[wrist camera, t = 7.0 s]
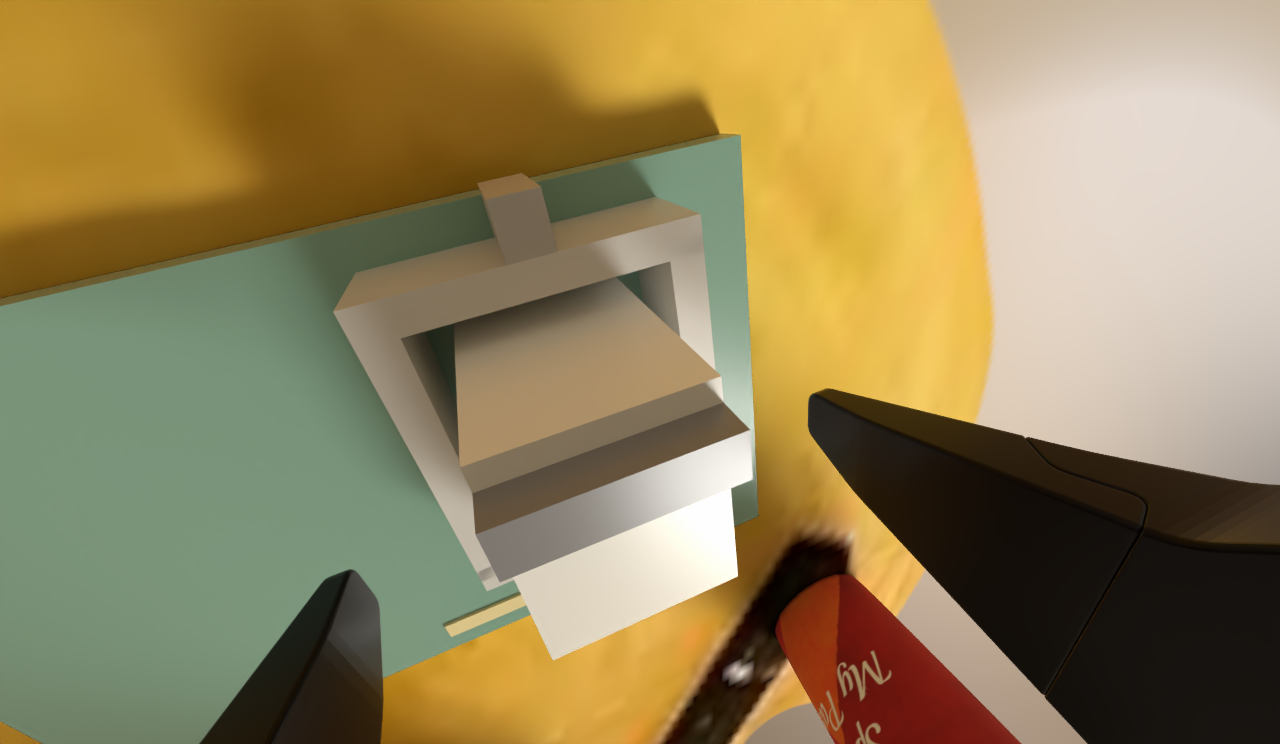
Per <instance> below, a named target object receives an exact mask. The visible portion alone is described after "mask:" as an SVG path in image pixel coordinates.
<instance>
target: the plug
mask: <svg viewBox="0 0 1280 744" xmlns="http://www.w3.org/2000/svg"><path fill="white" fill-rule="evenodd" d="M454 343H455V367H456V391H457V414H458V438H459V462H460V469H461V471H462V473H463V475H464V477H465V479H466V481H467V483H468V485H469V488H470V490H471V492H472V496H473V510H474V524H475V535H476V537H477V539H478V541H479V543H480V545H481V547H482V549H483V551H484V553H485V555H486V557H487V559H488V560H489V562H490V564H491V566H492V568H493V570H494V572H495V574H496V576H497V578H498V580H499V582H502V581H505V580H507V579H510V578H512V577H513V579H514V581H515V583H516V585H517V587H518V589H519V591H520V593H521V595H522V597H523V599H524V601H525V603H526V606H527V608H528V610H529V612H530V614H531V616H532V618H533V620H534V622H535V624H536V626H537V628H538V630H539V632H540V634H541V637H542V639H543V641H544V643H545V645H546V647H547V649H548V651H549V653H550V655H551V657H552V659H553V660H555V659H557V658H559V657H562V656H564V655H566V654H568V653H570V652H573V651H575V650H577V649H579V648H581V647H584V646H586V645H588V644H590V643H592V642H595V641H597V640H599V639H601V638H603V637H606V636H608V635H610V634H612V633H614V632H617V631H619V630H621V629H623V628H625V627H628V626H630V625H632V624H634V623H636V622H639V621H641V620H643V619H645V618H647V617H650V616H652V615H654V614H656V613H658V612H661V611H663V610H665V609H667V608H669V607H672V606H674V605H676V604H678V603H680V602H683V601H685V600H687V599H689V598H691V597H694V596H696V595H698V594H700V593H702V592H705V591H707V590H709V589H711V588H713V587H716V586H718V585H720V584H722V583H724V582H727V581H729V580H731V579H733V578H735V577H738V569H737V557H736V545H735V533H734V521H733V509H732V497H731V488H733V487H736V486H738V485H740V484H743V483H745V482H748V481H750V480H753V473H752V452H751V432H750V429H749V428H748V427H747V426H746V425H745V424H744V423H743V422H742V421H741V420H740V419H739V418H738V417H737V416H736V415H735V414H734V412H733V411H732V410H731V409H730V408H729V407H728V406H727V405H726V404H725V403H724V401H723V388H722V376H721V375H720V374H719V373H718V372H716V371H715V370H714V369H713V368H712V367H711V366H710V365H709V364H708V363H707V362H706V361H705V360H704V359H703V358H702V357H700V356H699V355H698V354H697V353H696V352H695V351H694V350H693V349H692V348H691V347H690V346H689V345H688V344H687V343H686V342H684V341H683V340H682V339H681V338H680V337H679V336H678V335H677V334H676V333H675V332H674V331H673V330H672V329H671V328H670V327H668V326H667V325H666V324H665V323H664V322H663V321H662V320H661V319H660V318H659V317H658V316H657V315H656V314H655V313H654V312H652V311H651V310H650V309H649V308H648V307H647V306H646V305H645V304H644V303H643V302H642V301H641V300H640V299H639V298H638V297H637V296H635V295H634V294H633V293H632V292H631V291H630V290H629V289H628V288H627V287H626V286H625V285H624V284H623V283H622V282H621V281H619V280H618V279H617V278H616V277H613V278H610V279H606V280H603V281H600V282H596V283H593V284H589V285H586V286H582V287H579V288H575V289H572V290H568V291H565V292H561V293H558V294H554V295H551V296H547V297H544V298H540V299H537V300H533V301H530V302H526V303H523V304H519V305H516V306H512V307H509V308H505V309H502V310H498V311H495V312H491V313H488V314H484V315H481V316H477V317H474V318H470V319H467V320H463V321H460V322H456V323H454Z"/></svg>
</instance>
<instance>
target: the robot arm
mask: <svg viewBox="0 0 1280 744" xmlns="http://www.w3.org/2000/svg"><path fill="white" fill-rule="evenodd" d="M808 428H809V432H810V434H811V436H812V437H813V438H814V440H815V441H816V442H817V444H818V445H819V446H820V448H821V449H822V450H823V452H824V453H825V454H826V456H827V457H828V458H829V460H830V461H831V462H832V464H833V465H834V466H835V468H836V469H837V470H838V472H839V473H840V474H841V476H842V477H843V478H844V480H845V481H846V482H847V483H848V485H849V486H850V487H851V488H852V490H853V491H854V492H855V493H856V494H857V495H858V497H859V498H860V499H861V500H862V501H863V502H864V503H865V504H866V505H867V507H868V508H869V509H870V510H871V511H872V512H873V513H874V514H875V515H876V516H877V517H878V518H879V519H880V520H881V522H882V523H883V524H884V525H885V526H886V527H887V528H888V529H889V530H890V531H891V532H892V533H893V534H894V536H895V537H896V538H897V539H898V540H899V541H900V542H901V543H902V544H903V545H904V546H905V547H906V548H907V550H908V551H909V552H910V553H911V554H912V555H913V556H914V557H915V558H916V559H917V560H918V561H919V562H920V564H921V565H922V566H923V567H924V568H925V569H926V570H927V571H928V572H929V573H930V574H931V575H932V576H933V577H934V579H935V580H936V581H937V582H938V583H939V584H940V585H941V586H942V587H943V588H944V589H945V590H946V591H947V592H948V594H949V595H950V596H951V597H952V598H953V599H954V600H955V601H956V602H957V603H958V604H959V605H960V606H961V608H962V609H963V610H964V611H965V612H966V613H967V614H968V615H969V616H970V617H971V618H972V619H973V620H974V622H976V624H977V625H978V626H979V627H980V628H981V629H982V630H983V631H984V632H985V633H986V635H987V636H988V637H989V638H990V639H991V640H992V641H993V642H994V643H995V644H996V645H997V646H998V647H999V649H1000V650H1001V651H1002V652H1003V653H1004V654H1005V655H1006V656H1007V657H1008V658H1009V659H1010V660H1011V661H1012V662H1013V663H1014V665H1015V666H1016V667H1017V668H1018V669H1019V670H1020V671H1021V672H1022V673H1023V674H1024V675H1025V676H1026V677H1027V679H1028V680H1029V681H1030V682H1031V683H1032V684H1033V685H1034V686H1035V687H1036V688H1037V689H1038V690H1039V691H1040V693H1041V694H1043V695H1045V698H1046V700H1047V701H1048V702H1049V703H1050V704H1051V705H1052V706H1053V707H1054V708H1055V709H1056V710H1057V711H1058V712H1059V713H1060V715H1062V717H1063V718H1064V719H1065V720H1066V721H1067V722H1068V723H1069V724H1070V725H1071V726H1072V727H1073V729H1074V730H1075V731H1076V732H1077V733H1078V734H1079V735H1080V736H1081V737H1082V738H1083V739H1084V740H1085V741H1086V743H1087V744H1280V485H1268V484H1259V483H1249V482H1243V481H1237V480H1231V479H1226V478H1221V477H1216V476H1210V475H1205V474H1200V473H1195V472H1190V471H1184V470H1180V469H1175V468H1169V467H1164V466H1159V465H1154V464H1148V463H1144V462H1138V461H1133V460H1128V459H1123V458H1118V457H1114V456H1109V455H1103V454H1098V453H1094V452H1089V451H1085V450H1080V449H1076V448H1072V447H1067V446H1063V445H1059V444H1055V443H1050V442H1046V441H1042V440H1038V439H1034V438H1030V437H1027V438H1025V437H1023V436H1022V435H1018V434H1013V433H1009V432H1005V431H1001V430H997V429H993V428H989V427H985V426H981V425H977V424H973V423H969V422H965V421H961V420H957V419H952V418H948V417H944V416H940V415H936V414H932V413H928V412H924V411H920V410H916V409H912V408H908V407H904V406H899V405H895V404H891V403H887V402H883V401H879V400H875V399H871V398H867V397H863V396H859V395H855V394H850V393H846V392H842V391H838V390H834V389H824V390H821V391H818V392H816V393H813V394H812V395H810V397H809V402H808ZM382 719H383V669H382V647H381V625H380V608H379V603H378V600H377V598H376V596H375V595H374V593H373V592H372V591H371V589H370V588H369V587H368V585H367V584H366V583H365V581H364V580H363V579H362V577H361V576H360V575H359V574H358V573H357V572H356V571H355V570H353V569H348V570H345V571H343V572H340V573H337V574H335V575H332V576H330V577H328V578H326V579H325V580H324V581H323V582H322V583H321V584H320V586H319V587H318V588H317V589H316V591H315V592H314V593H313V595H312V596H311V597H310V599H309V600H308V601H307V603H306V604H305V605H304V607H303V608H302V609H301V611H300V612H299V613H298V614H297V616H296V617H295V618H294V620H293V621H292V622H291V624H290V625H289V626H288V628H287V629H286V630H285V632H284V633H283V634H282V635H281V637H280V638H279V639H278V641H277V642H276V643H275V645H274V646H273V647H272V649H271V650H270V651H269V653H268V654H267V655H266V656H265V658H264V659H263V660H262V662H261V663H260V664H259V666H258V667H257V668H256V670H255V671H254V672H253V674H252V675H251V676H250V677H249V679H248V680H247V681H246V683H245V684H244V685H243V687H242V688H241V689H240V691H239V692H238V693H237V695H236V696H235V697H234V699H233V700H232V701H231V702H230V704H229V705H228V706H227V708H226V709H225V710H224V712H223V713H222V714H221V716H220V717H219V718H218V720H217V721H216V722H215V723H214V725H213V726H212V727H211V729H210V730H209V731H208V733H207V734H206V735H205V737H204V738H203V739H202V741H201V742H200V743H199V744H381V734H382Z"/></svg>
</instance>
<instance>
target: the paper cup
mask: <svg viewBox="0 0 1280 744" xmlns="http://www.w3.org/2000/svg"><path fill="white" fill-rule="evenodd" d="M775 633H776V636H777V639H778V641H779V643H780V645H781V647H782V649H783V651H784V653H785V655H786V656H787V658H788V660H789V662H790V664H791V666H792V668H793V669H794V671H795V673H796V675H797V677H798V678H799V680H800V682H801V684H802V686H803V687H804V689H805V691H806V693H807V695H808V696H809V698H810V700H811V702H812V704H813V705H814V707H815V709H816V711H817V713H818V714H819V716H820V718H821V720H822V721H823V723H824V725H825V727H826V728H827V730H828V732H829V734H830V736H831V737H832V739H833V741H834V743H835V744H1021V743H1020V742H1019V741H1018V740H1017V739H1016V738H1015V737H1014V736H1013V735H1012V734H1011V733H1010V732H1009V731H1008V730H1007V729H1006V728H1005V727H1004V726H1003V725H1002V724H1001V723H1000V722H999V721H998V720H997V719H996V717H995V716H994V715H992V713H991V712H990V711H989V710H987V708H986V707H985V706H984V705H983V704H982V703H981V702H980V701H979V700H978V699H977V698H976V697H975V696H974V695H973V694H972V693H971V692H970V691H969V690H968V689H967V688H966V687H965V686H964V685H963V684H962V683H961V682H960V681H959V680H958V679H957V678H956V677H955V676H954V675H953V674H952V673H951V672H950V671H949V670H948V669H947V668H946V667H945V666H944V665H943V664H942V663H941V662H940V661H939V660H938V659H937V658H936V657H935V656H934V655H933V654H932V653H931V652H930V651H929V650H928V649H927V648H926V647H925V646H924V645H923V644H922V643H921V642H920V641H919V640H918V639H917V638H916V637H915V636H914V635H913V634H912V633H911V632H910V631H909V630H908V629H907V628H906V627H905V626H904V625H903V624H902V623H901V622H900V621H899V620H898V619H897V618H896V617H895V616H894V615H893V614H892V613H891V612H890V611H889V610H888V609H887V608H886V607H885V606H884V605H883V604H882V603H881V602H880V601H879V600H878V599H877V598H876V597H875V596H874V595H873V594H872V593H871V592H870V591H869V590H868V589H867V588H865V587H864V586H863V585H862V584H861V583H860V582H859V581H858V580H857V579H855V578H854V577H853V576H851V575H848V574H835V575H831V576H828V577H825V578H822V579H820V580H818V581H816V582H814V583H813V584H811V585H809V586H808V587H806V588H805V589H804V590H802V591H801V592H800V593H798V594H797V595H796V596H795V597H794V598H793V599H792V600H791V601H790V602H789V603H788V604H787V606H786V607H785V608H784V610H783V611H782V613H781V614H780V616H779V618H778V620H777V623H776V627H775Z"/></svg>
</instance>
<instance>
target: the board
mask: <svg viewBox="0 0 1280 744" xmlns="http://www.w3.org/2000/svg"><path fill="white" fill-rule="evenodd" d="M477 184H478V187H479V189H477V190H473V191H468V192H464V193H460V194H455V195H451V196H446V197H442V198H438V199H433V200H429V201H425V202H420V203H416V204H411V205H407V206H403V207H398V208H394V209H390V210H385V211H381V212H377V213H372V214H368V215H363V216H359V217H355V218H350V219H346V220H342V221H337V222H333V223H328V224H324V225H320V226H315V227H311V228H307V229H302V230H298V231H294V232H289V233H285V234H280V235H276V236H272V237H267V238H263V239H259V240H254V241H250V242H245V243H241V244H237V245H232V246H228V247H224V248H219V249H215V250H211V251H206V252H202V253H197V254H193V255H189V256H184V257H180V258H176V259H171V260H167V261H162V262H158V263H154V264H149V265H145V266H141V267H136V268H132V269H127V270H123V271H119V272H114V273H110V274H106V275H101V276H97V277H93V278H88V279H84V280H79V281H75V282H71V283H66V284H62V285H58V286H53V287H49V288H44V289H40V290H36V291H31V292H27V293H23V294H18V295H14V296H10V297H5V298H1V299H0V721H1V722H3V723H4V724H6V725H8V726H10V727H12V728H14V729H16V730H18V731H20V732H21V733H23V734H25V735H27V736H29V737H31V738H33V739H35V740H37V741H38V742H40V743H42V744H199V743H200V742H201V741H202V739H203V738H204V737H205V735H206V734H207V733H208V731H209V730H210V729H211V727H212V726H213V725H214V723H215V722H216V721H217V720H218V718H219V717H220V716H221V714H222V713H223V712H224V710H225V709H226V708H227V706H228V705H229V704H230V702H231V701H232V700H233V699H234V697H235V696H236V695H237V693H238V692H239V691H240V689H241V688H242V687H243V685H244V684H245V683H246V681H247V680H248V679H249V677H250V676H251V675H252V674H253V672H254V671H255V670H256V668H257V667H258V666H259V664H260V663H261V662H262V660H263V659H264V658H265V656H266V655H267V654H268V653H269V651H270V650H271V649H272V647H273V646H274V645H275V643H276V642H277V641H278V639H279V638H280V637H281V635H282V634H283V633H284V632H285V630H286V629H287V628H288V626H289V625H290V624H291V622H292V621H293V620H294V618H295V617H296V616H297V614H298V613H299V612H300V611H301V609H302V608H303V607H304V605H305V604H306V603H307V601H308V600H309V599H310V597H311V596H312V595H313V593H314V592H315V591H316V589H317V588H318V587H319V586H320V584H321V583H322V582H323V581H324V580H325V579H326V578H328V577H330V576H332V575H335V574H337V573H340V572H343V571H345V570H348V569H353V570H355V571H356V572H357V573H358V574H359V575H360V576H361V577H362V579H363V580H364V581H365V583H366V584H367V585H368V587H369V588H370V589H371V591H372V592H373V593H374V595H375V596H376V598H377V600H378V603H379V608H380V625H381V647H382V669H383V678H385V677H387V676H389V675H392V674H394V673H396V672H399V671H401V670H403V669H406V668H408V667H410V666H412V665H415V664H417V663H419V662H422V661H424V660H426V659H429V658H431V657H433V656H436V655H438V654H440V653H443V652H445V651H447V650H450V649H452V648H454V647H457V646H459V645H461V644H463V643H466V642H468V641H470V640H473V639H475V638H477V637H480V636H482V635H484V634H487V633H489V632H491V631H494V630H496V629H498V628H501V627H503V626H505V625H508V624H510V623H512V622H515V621H517V620H519V619H521V618H524V617H526V616H528V615H531V614H530V612H529V610H528V608H527V606H526V603H525V601H524V599H523V597H522V595H521V593H520V591H519V589H518V587H517V585H516V583H515V581H514V579H513V577H512V578H510V579H507V580H505V581H502V582H499V580H498V578H497V576H496V574H495V572H494V570H493V568H492V566H491V564H490V562H489V560H488V559H487V557H486V555H485V553H484V551H483V549H482V547H481V545H480V543H479V541H478V539H477V537H476V535H475V524H474V510H473V496H472V492H471V490H470V488H469V485H468V483H467V481H466V479H465V477H464V475H463V473H462V471H461V469H460V462H459V438H458V414H457V391H456V367H455V343H454V323H456V322H460V321H463V320H467V319H470V318H474V317H477V316H481V315H484V314H488V313H491V312H495V311H498V310H502V309H505V308H509V307H512V306H516V305H519V304H523V303H526V302H530V301H533V300H537V299H540V298H544V297H547V296H551V295H554V294H558V293H561V292H565V291H568V290H572V289H575V288H579V287H582V286H586V285H589V284H593V283H596V282H600V281H603V280H606V279H610V278H613V277H616V278H617V279H618V280H619V281H621V282H622V283H623V284H624V285H625V286H626V287H627V288H628V289H629V290H630V291H631V292H632V293H633V294H634V295H635V296H637V297H638V298H639V299H640V300H641V301H642V302H643V303H644V304H645V305H646V306H647V307H648V308H649V309H650V310H651V311H652V312H654V313H655V314H656V315H657V316H658V317H659V318H660V319H661V320H662V321H663V322H664V323H665V324H666V325H667V326H668V327H670V328H671V329H672V330H673V331H674V332H675V333H676V334H677V335H678V336H679V337H680V338H681V339H682V340H683V341H684V342H686V343H687V344H688V345H689V346H690V347H691V348H692V349H693V350H694V351H695V352H696V353H697V354H698V355H699V356H700V357H702V358H703V359H704V360H705V361H706V362H707V363H708V364H709V365H710V366H711V367H712V368H713V369H714V370H715V371H716V372H718V373H719V374H720V375H721V376H722V388H723V401H724V403H725V404H726V405H727V406H728V407H729V408H730V409H731V410H732V411H733V412H734V414H735V415H736V416H737V417H738V418H739V419H740V420H741V421H742V422H743V423H744V424H745V425H746V426H747V427H748V428H749V429H750V432H751V452H752V473H753V480H750V481H748V482H745V483H743V484H740V485H738V486H736V487H733V488H731V497H732V509H733V521H734V527H735V526H737V525H739V524H742V523H744V522H746V521H749V520H751V519H753V518H756V517H758V495H757V474H756V453H755V432H754V410H753V389H752V368H751V347H750V326H749V305H748V284H747V263H746V242H745V221H744V200H743V179H742V158H741V136H740V135H736V134H717V135H713V136H709V137H704V138H700V139H695V140H691V141H687V142H682V143H678V144H674V145H669V146H665V147H660V148H656V149H652V150H647V151H643V152H639V153H634V154H630V155H626V156H621V157H617V158H612V159H608V160H604V161H599V162H595V163H591V164H586V165H582V166H577V167H573V168H569V169H564V170H560V171H556V172H551V173H547V174H543V175H538V176H534V177H529V178H528V177H527V176H526V175H524V174H523V173H519V174H515V175H511V176H506V177H502V178H497V179H493V180H488V181H484V182H480V183H477Z"/></svg>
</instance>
